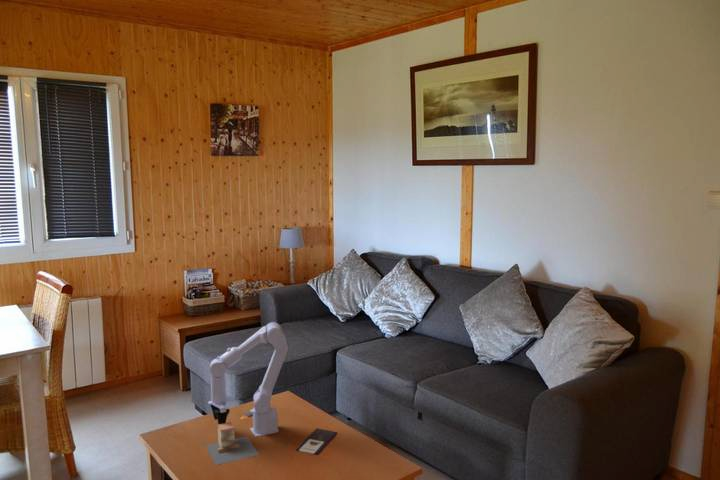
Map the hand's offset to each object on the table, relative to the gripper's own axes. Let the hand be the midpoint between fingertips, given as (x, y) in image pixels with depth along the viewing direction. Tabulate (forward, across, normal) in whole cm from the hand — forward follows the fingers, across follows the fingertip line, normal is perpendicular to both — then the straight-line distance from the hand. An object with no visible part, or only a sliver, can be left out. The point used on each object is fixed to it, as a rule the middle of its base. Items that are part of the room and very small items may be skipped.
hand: (219, 422), depth 224 cm
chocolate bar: (+6, +22, +32) cm, 39 cm away
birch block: (+5, +10, 0) cm, 11 cm away
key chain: (+6, -12, +14) cm, 19 cm away
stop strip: (+5, +13, 0) cm, 14 cm away
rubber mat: (+5, +14, +1) cm, 15 cm away
